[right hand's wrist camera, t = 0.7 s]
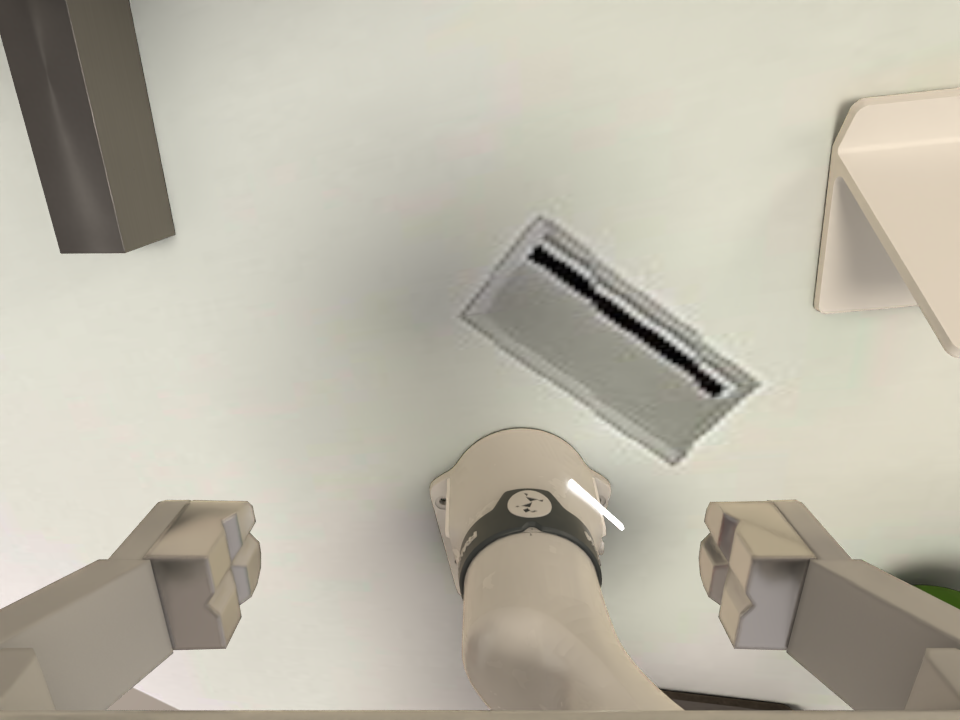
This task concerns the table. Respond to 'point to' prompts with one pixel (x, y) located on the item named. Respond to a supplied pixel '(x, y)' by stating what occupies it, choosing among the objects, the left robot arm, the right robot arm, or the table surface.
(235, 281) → the table surface
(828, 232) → the tablet stand
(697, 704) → the toy
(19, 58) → the bar
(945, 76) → the table surface
